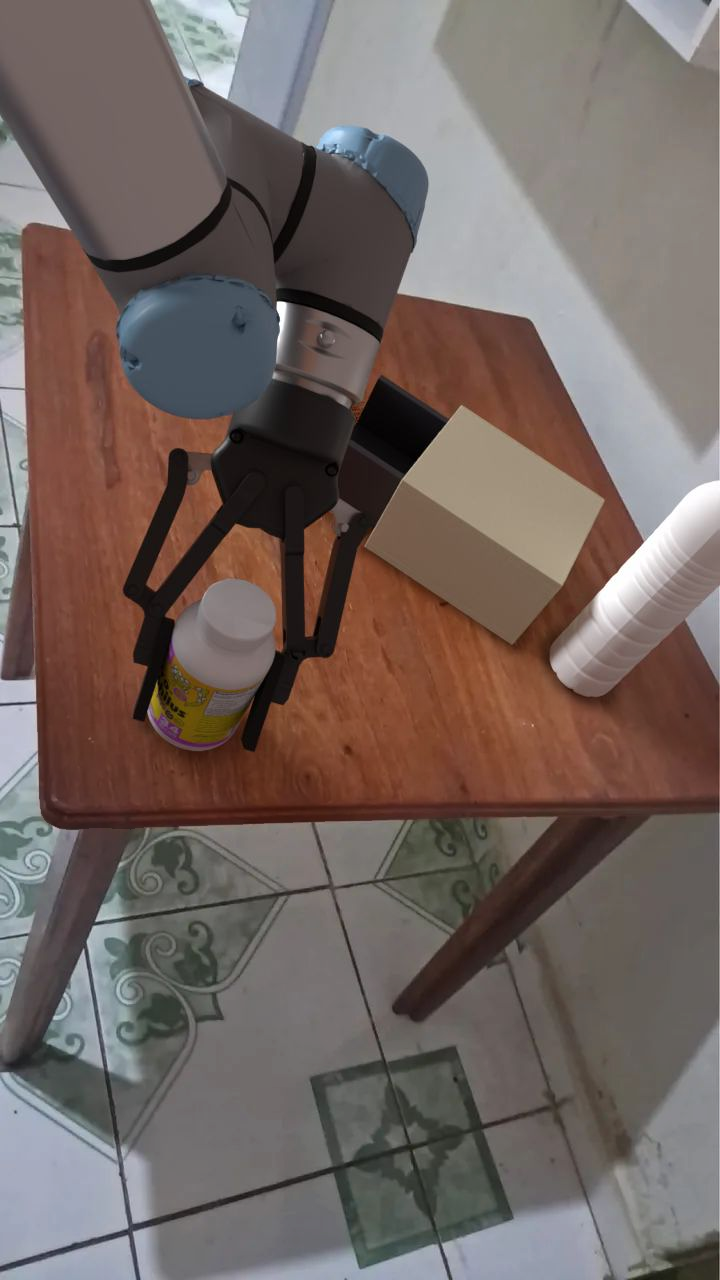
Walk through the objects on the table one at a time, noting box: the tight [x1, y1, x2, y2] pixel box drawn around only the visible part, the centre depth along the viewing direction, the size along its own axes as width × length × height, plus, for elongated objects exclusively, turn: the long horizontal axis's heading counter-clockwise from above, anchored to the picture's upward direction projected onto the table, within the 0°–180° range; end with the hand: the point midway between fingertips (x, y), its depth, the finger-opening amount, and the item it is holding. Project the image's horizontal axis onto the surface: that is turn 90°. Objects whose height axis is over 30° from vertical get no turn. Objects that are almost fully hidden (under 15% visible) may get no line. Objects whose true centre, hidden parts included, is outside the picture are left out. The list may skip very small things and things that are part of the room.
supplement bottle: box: [147, 578, 277, 752], centre depth 63 cm, size 7×7×13 cm
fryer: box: [364, 404, 606, 646], centre depth 85 cm, size 16×14×9 cm
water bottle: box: [549, 479, 720, 698], centre depth 75 cm, size 9×6×25 cm
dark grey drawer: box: [337, 374, 451, 529], centre depth 85 cm, size 20×12×7 cm, turn 63°
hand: (194, 730), depth 63 cm, fingers closed on supplement bottle, 7 cm apart
